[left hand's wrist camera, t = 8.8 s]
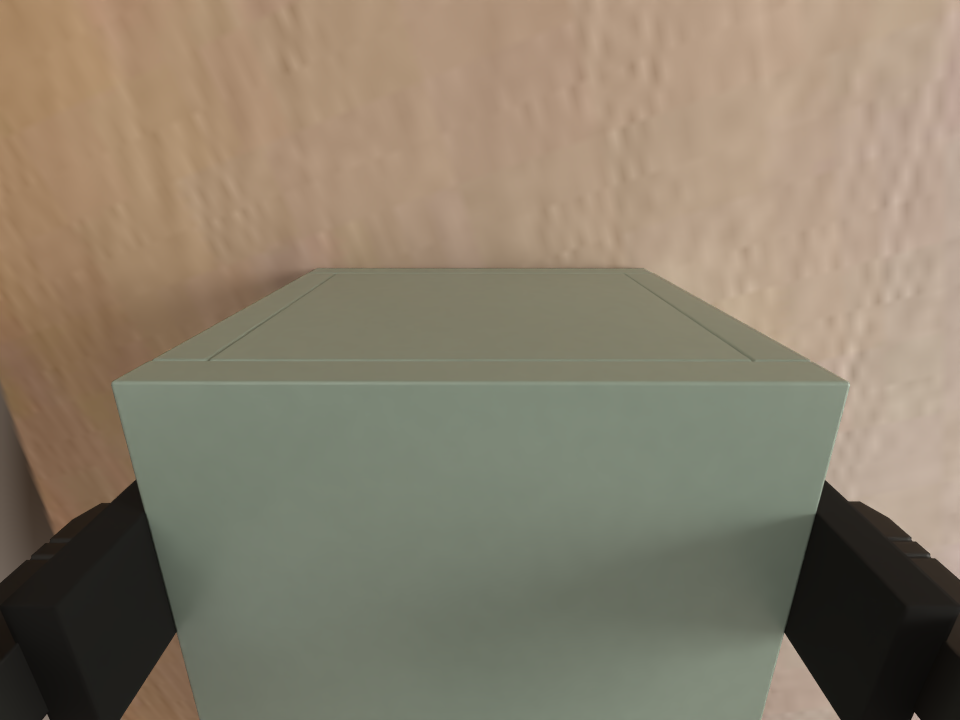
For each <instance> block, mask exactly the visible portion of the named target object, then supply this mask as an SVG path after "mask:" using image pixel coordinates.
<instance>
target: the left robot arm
mask: <svg viewBox="0 0 960 720" xmlns="http://www.w3.org/2000/svg"><path fill="white" fill-rule="evenodd" d="M175 633H176V628H175V624H174V620H173V616H172V613H171V609H170V605H169V601H168V598H167V594H166V590H165V586H164V582H163V579H162V575H161V571H160V567H159V563H158V560H157V556H156V552H155V548H154V545H153V541H152V537H151V533H150V529H149V526H148V522H147V518H146V514H145V510H144V507H143V503H142V499H141V495H140V492H139V488H138V484H137V480H135V481H134V482H133V483H132V484H131V485H130V486H128V487H127V488H126V489H125V490H124V491H123V492H122V493H121V494H120V495H119V496H118V497H117V498H116V499H114V500H113V501H112V502H111V503H101V504H99V505H97V506H95V507H94V508H92V509H90V510H88V511H87V512H85V513H83V514H81V515H80V516H78V517H76V518H74V519H73V520H71V521H70V522H69V523H68V524H67V525H66V526H65V527H63V528H62V529H61V530H60V531H59V532H58V533H57V534H56V535H54V536H53V537H52V538H51V539H50V543H45V544H44V545H43V546H42V547H41V548H40V549H38V550H37V551H36V552H35V553H34V554H33V555H32V556H31V559H30V560H26V561H25V562H24V563H23V564H21V565H20V566H19V567H18V568H17V569H16V570H15V571H13V572H12V573H11V574H10V575H9V576H8V577H7V578H5V579H4V580H3V581H2V582H1V583H0V720H42V719H43V718H44V717H45V716H46V714H48V717H49V719H50V720H120V719H121V717H122V716H123V714H124V713H125V711H126V709H127V708H128V706H129V705H130V703H131V702H132V700H133V699H134V697H135V695H136V694H137V692H138V691H139V689H140V688H141V686H142V685H143V683H144V682H145V680H146V678H147V677H148V675H149V674H150V672H151V671H152V669H153V668H154V666H155V664H156V663H157V661H158V660H159V658H160V657H161V655H162V654H163V652H164V651H165V649H166V647H167V646H168V644H169V643H170V641H171V640H172V638H173V637H174V635H175ZM784 633H785V634H786V636H787V637H788V639H789V640H790V642H791V643H792V645H793V647H794V648H795V650H796V651H797V653H798V654H799V656H800V657H801V659H802V661H803V662H804V664H805V665H806V667H807V668H808V670H809V671H810V673H811V674H812V676H813V678H814V679H815V681H816V682H817V684H818V685H819V687H820V688H821V690H822V692H823V693H824V695H825V696H826V698H827V699H828V701H829V702H830V704H831V705H832V707H833V709H834V710H835V712H836V713H837V715H838V716H839V718H840V719H841V720H911V719H912V716H913V714H914V712H915V713H916V715H917V716H918V717H919V718H920V720H960V580H959V579H958V578H957V577H956V576H955V575H954V574H952V573H951V572H950V571H949V570H948V569H947V568H946V567H944V566H943V565H942V564H941V563H940V562H939V561H938V560H936V559H935V558H931V557H930V553H928V552H927V551H926V550H925V549H924V548H923V547H922V546H920V545H919V544H918V543H917V542H912V540H911V537H910V536H909V535H908V534H907V533H906V532H904V531H903V530H902V529H901V528H900V527H899V526H897V525H896V524H895V523H894V522H893V521H892V520H891V519H889V518H888V517H886V516H884V515H883V514H881V513H879V512H877V511H876V510H874V509H872V508H870V507H869V506H867V505H865V504H863V503H862V502H848V501H847V500H846V499H845V498H844V497H843V496H842V495H841V494H840V493H839V492H838V491H836V490H835V489H834V488H833V487H832V486H831V485H830V484H829V483H828V482H827V481H826V480H825V481H824V485H823V489H822V492H821V496H820V500H819V504H818V507H817V511H816V515H815V519H814V523H813V526H812V530H811V534H810V538H809V541H808V545H807V549H806V553H805V556H804V560H803V564H802V568H801V571H800V575H799V579H798V583H797V586H796V590H795V594H794V598H793V601H792V605H791V609H790V613H789V616H788V620H787V624H786V628H785V632H784Z"/></svg>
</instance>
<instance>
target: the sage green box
mask: <svg viewBox="0 0 960 720" xmlns="http://www.w3.org/2000/svg"><path fill="white" fill-rule="evenodd" d="M111 386H112V389H113V393H114V397H115V401H116V404H117V408H118V412H119V416H120V420H121V423H122V427H123V431H124V435H125V439H126V442H127V446H128V450H129V454H130V457H131V461H132V465H133V469H134V473H135V476H136V480H137V484H138V488H139V492H140V495H141V499H142V503H143V507H144V510H145V514H146V518H147V522H148V526H149V529H150V533H151V537H152V541H153V545H154V548H155V552H156V556H157V560H158V563H159V567H160V571H161V575H162V579H163V582H164V586H165V590H166V594H167V598H168V601H169V605H170V609H171V613H172V616H173V620H174V624H175V628H176V632H177V635H178V639H179V643H180V647H181V651H182V654H183V658H184V662H185V666H186V669H187V673H188V677H189V681H190V685H191V688H192V692H193V696H194V700H195V704H196V707H197V711H198V715H199V719H200V720H761V718H762V714H763V710H764V707H765V703H766V699H767V695H768V692H769V688H770V684H771V680H772V677H773V673H774V669H775V665H776V662H777V658H778V654H779V650H780V647H781V643H782V639H783V635H784V632H785V628H786V624H787V620H788V616H789V613H790V609H791V605H792V601H793V598H794V594H795V590H796V586H797V583H798V579H799V575H800V571H801V568H802V564H803V560H804V556H805V553H806V549H807V545H808V541H809V538H810V534H811V530H812V526H813V523H814V519H815V515H816V511H817V507H818V504H819V500H820V496H821V492H822V489H823V485H824V481H825V477H826V474H827V470H828V466H829V462H830V459H831V455H832V451H833V447H834V444H835V440H836V436H837V432H838V429H839V425H840V421H841V417H842V414H843V410H844V406H845V402H846V398H847V395H848V391H849V387H850V383H849V382H848V381H846V380H844V379H843V378H841V377H839V376H837V375H835V374H834V373H832V372H830V371H828V370H826V369H825V368H823V367H821V366H819V365H817V364H816V363H814V362H811V361H810V360H809V359H807V358H805V357H804V356H802V355H800V354H798V353H796V352H795V351H793V350H791V349H789V348H787V347H786V346H784V345H782V344H780V343H778V342H777V341H775V340H773V339H771V338H769V337H768V336H766V335H764V334H762V333H760V332H759V331H757V330H755V329H753V328H751V327H750V326H748V325H746V324H744V323H742V322H741V321H739V320H737V319H735V318H733V317H732V316H730V315H728V314H726V313H724V312H723V311H721V310H719V309H717V308H715V307H714V306H712V305H710V304H708V303H706V302H705V301H703V300H701V299H699V298H697V297H696V296H694V295H692V294H690V293H688V292H687V291H685V290H683V289H681V288H679V287H678V286H676V285H674V284H672V283H671V282H669V281H667V280H665V279H663V278H662V277H660V276H658V275H656V274H654V273H651V272H650V271H648V270H646V269H644V268H317V269H315V270H313V271H311V272H309V273H307V274H305V275H304V276H302V277H300V278H298V279H296V280H295V281H293V282H291V283H289V284H287V285H286V286H284V287H282V288H280V289H278V290H277V291H275V292H273V293H271V294H270V295H268V296H266V297H264V298H262V299H261V300H259V301H257V302H255V303H253V304H252V305H250V306H248V307H246V308H244V309H243V310H241V311H239V312H237V313H235V314H234V315H232V316H230V317H228V318H226V319H225V320H223V321H221V322H219V323H217V324H216V325H214V326H212V327H210V328H208V329H207V330H205V331H203V332H201V333H200V334H198V335H196V336H194V337H192V338H191V339H189V340H187V341H185V342H183V343H182V344H180V345H178V346H176V347H174V348H173V349H171V350H169V351H167V352H165V353H164V354H162V355H160V356H158V357H156V358H155V359H153V360H152V361H149V362H147V363H145V364H143V365H141V366H139V367H138V368H136V369H134V370H132V371H130V372H129V373H127V374H125V375H123V376H121V377H120V378H118V379H116V380H114V381H113V382H112V385H111Z"/></svg>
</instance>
